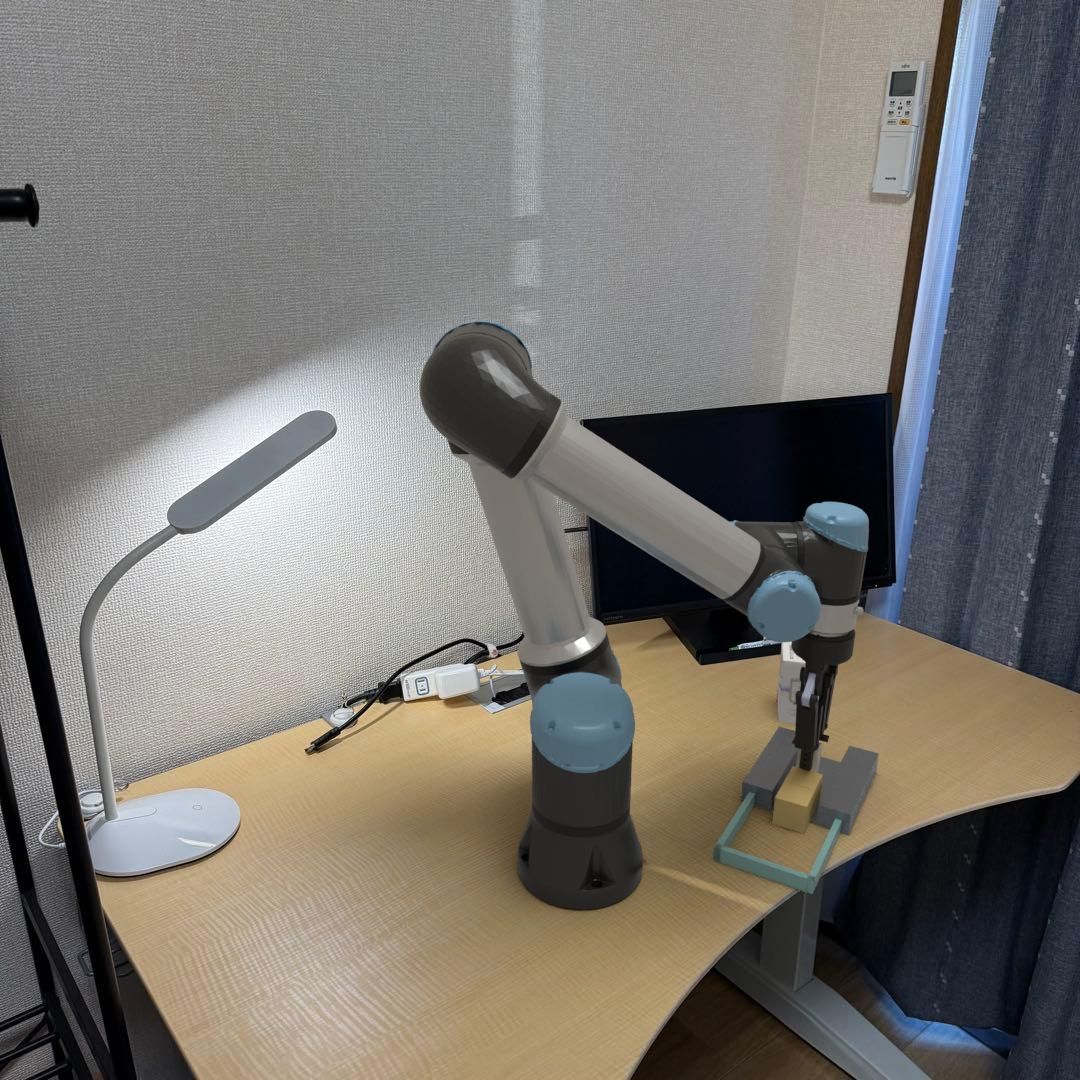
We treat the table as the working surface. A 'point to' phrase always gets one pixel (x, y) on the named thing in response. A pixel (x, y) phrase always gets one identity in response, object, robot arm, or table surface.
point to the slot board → (839, 781)
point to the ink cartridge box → (788, 683)
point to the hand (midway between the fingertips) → (805, 784)
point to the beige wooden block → (806, 781)
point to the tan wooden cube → (793, 807)
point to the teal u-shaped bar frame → (766, 867)
